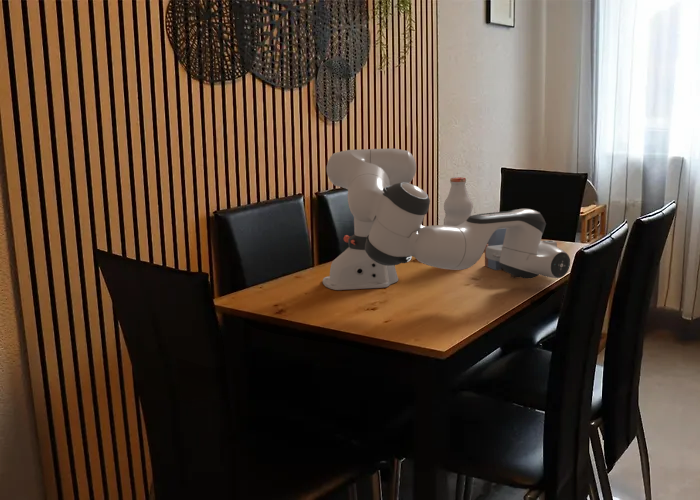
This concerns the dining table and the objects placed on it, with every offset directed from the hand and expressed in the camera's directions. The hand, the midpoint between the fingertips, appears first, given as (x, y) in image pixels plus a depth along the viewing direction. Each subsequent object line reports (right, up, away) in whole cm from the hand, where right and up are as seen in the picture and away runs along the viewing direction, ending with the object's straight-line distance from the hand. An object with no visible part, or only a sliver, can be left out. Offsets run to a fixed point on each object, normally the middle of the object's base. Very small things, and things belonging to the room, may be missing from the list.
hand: (507, 246), depth 216 cm
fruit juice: (-13, -6, +12) cm, 19 cm away
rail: (+1, -8, 0) cm, 8 cm away
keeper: (-1, -7, +4) cm, 8 cm away
